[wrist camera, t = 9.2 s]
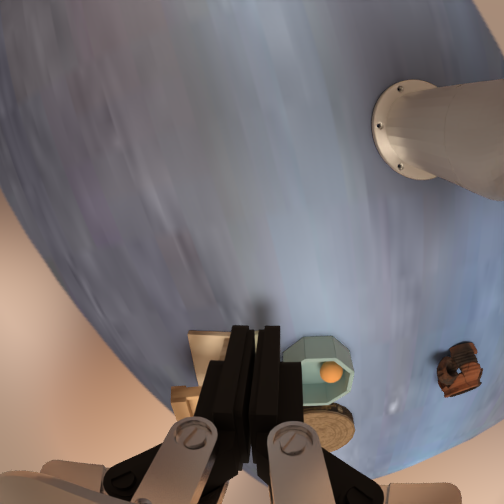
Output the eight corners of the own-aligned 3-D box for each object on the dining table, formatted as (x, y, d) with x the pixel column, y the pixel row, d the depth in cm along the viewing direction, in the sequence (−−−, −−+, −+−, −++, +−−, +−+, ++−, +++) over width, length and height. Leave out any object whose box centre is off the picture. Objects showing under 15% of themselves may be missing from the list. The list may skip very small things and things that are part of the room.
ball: (342, 372, 42) (318, 369, 44) (339, 389, 44) (316, 385, 45) (345, 357, 45) (323, 353, 47) (342, 373, 47) (321, 370, 48)
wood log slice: (324, 450, 59) (324, 460, 56) (259, 433, 57) (258, 445, 54) (369, 411, 52) (371, 422, 50) (298, 390, 51) (299, 403, 48)
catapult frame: (274, 332, 46) (271, 380, 37) (275, 387, 51) (272, 433, 41) (189, 330, 47) (170, 374, 38) (200, 383, 52) (187, 427, 43)
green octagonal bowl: (351, 335, 45) (357, 356, 40) (343, 382, 49) (347, 403, 44) (283, 336, 46) (282, 359, 42) (282, 384, 50) (282, 406, 46)
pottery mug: (484, 339, 45) (494, 380, 40) (449, 359, 52) (456, 397, 47) (450, 340, 41) (460, 388, 36) (411, 361, 49) (418, 404, 44)
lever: (272, 327, 38) (278, 343, 35) (273, 408, 44) (278, 424, 41) (158, 340, 36) (156, 357, 33) (182, 419, 42) (182, 435, 39)
